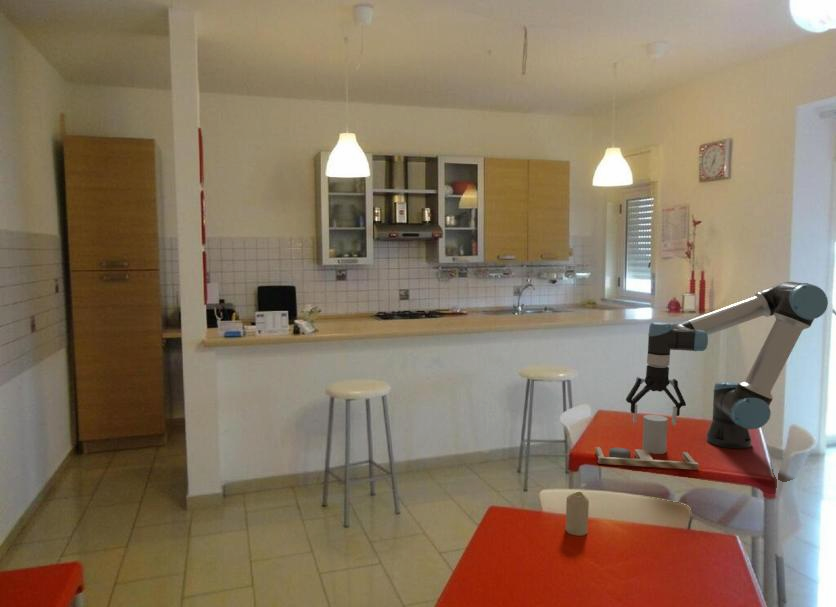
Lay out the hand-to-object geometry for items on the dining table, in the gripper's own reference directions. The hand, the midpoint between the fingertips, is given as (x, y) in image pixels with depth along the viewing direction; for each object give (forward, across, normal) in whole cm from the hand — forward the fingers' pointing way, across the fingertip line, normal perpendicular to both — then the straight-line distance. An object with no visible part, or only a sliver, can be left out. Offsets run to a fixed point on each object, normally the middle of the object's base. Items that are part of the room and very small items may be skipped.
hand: (654, 423), depth 218 cm
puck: (+10, +13, +12) cm, 21 cm away
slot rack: (+10, +5, +12) cm, 17 cm away
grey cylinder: (+10, -1, 0) cm, 10 cm away
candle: (+11, +34, +69) cm, 78 cm away
